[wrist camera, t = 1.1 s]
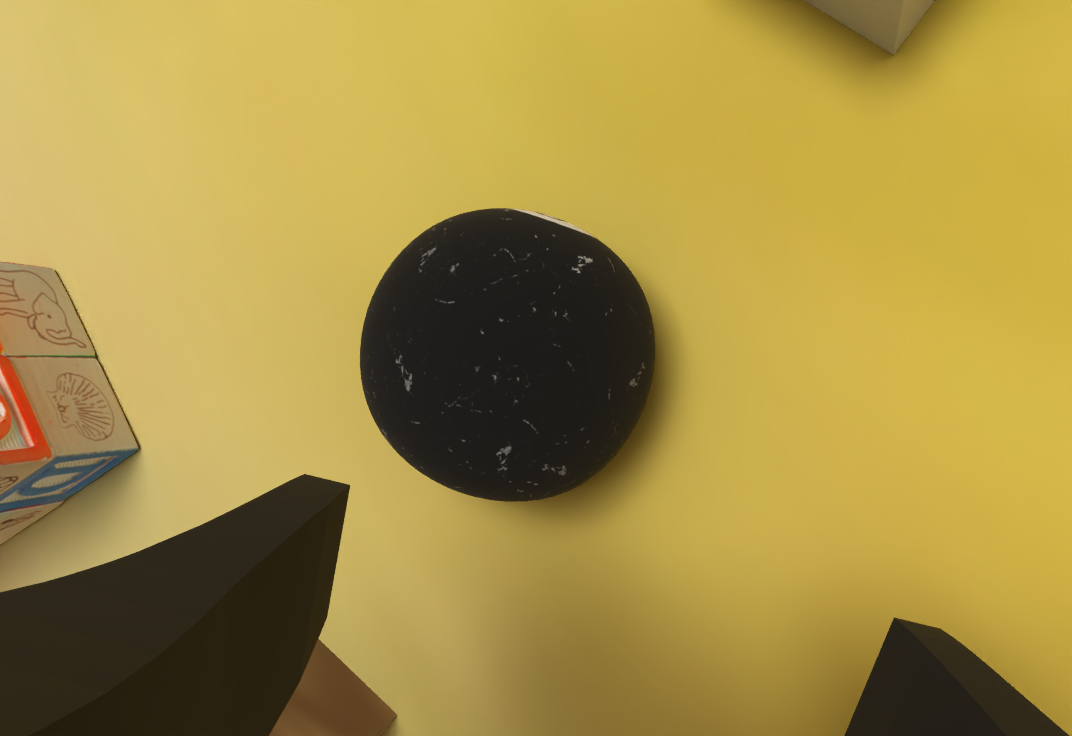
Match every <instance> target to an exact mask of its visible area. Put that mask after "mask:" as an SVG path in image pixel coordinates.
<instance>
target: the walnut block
mask: <svg viewBox="0 0 1072 736" xmlns="http://www.w3.org/2000/svg"><path fill="white" fill-rule="evenodd" d="M396 716H397V714H396V713H395V712H394V711H393V710H392V709H391V708H390V707H389V706H388V705H387V704H385V703H384V702H383V701H382V700H381V699H380V698H379V697H378V696H377V695H376V694H375V693H374V692H373V691H372V690H371V689H370V688H369V687H368V686H367V685H366V684H365V683H364V682H363V681H362V680H361V679H360V678H358V677H357V676H356V675H355V674H354V673H353V672H352V671H351V670H350V669H349V668H348V667H347V666H346V665H345V664H344V663H343V662H342V661H341V660H340V659H339V658H338V657H337V656H336V655H335V654H334V653H333V652H331V651H330V650H329V649H328V648H327V647H326V646H325V645H324V644H323V643H322V642H321V641H320V640H319V639H318V640H317V643H316V645H315V647H314V650H313V652H312V655H311V657H310V659H309V662H308V664H307V666H306V669H305V671H304V673H303V676H302V678H301V680H300V682H299V684H298V686H297V688H296V689H295V691H294V693H293V695H292V697H291V698H290V700H289V702H288V704H287V705H286V707H285V709H284V710H283V712H282V714H281V716H280V717H279V719H278V721H277V723H276V724H275V726H274V728H273V729H272V731H271V733H270V735H269V736H381V735H382V734H383V733H384V731H385V730H386V729H387V727H388V726H389V725H390V724H391V722H392V721H393V720H394V718H395V717H396Z"/></svg>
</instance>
